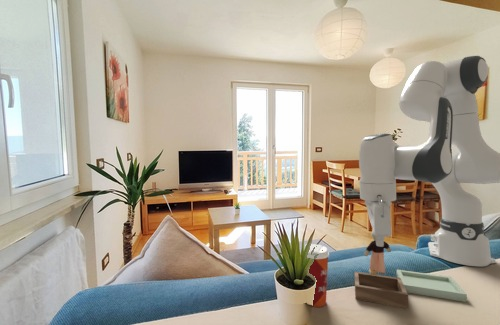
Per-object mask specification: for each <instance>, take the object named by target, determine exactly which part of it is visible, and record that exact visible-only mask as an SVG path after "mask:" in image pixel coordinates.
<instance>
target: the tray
mask: <svg viewBox="0 0 500 325" xmlns="http://www.w3.org/2000/svg"><path fill="white" fill-rule="evenodd" d="M396 278H401V280H402V282H403V285H404V287H405V289H406V291H407V293H408V294H413V295H414V294H415V295H420V296H421V295H422V296H427V297H431V298H432V297H434V298H440V299H445V300H450V301H451V300H452V301H457V302H464V303H467V301H468V299H467V297H468V296H467V293H466V292H465V291H464V289H462V288H461V286H460V285H459V284H458V283H457V282H456V281H455V279H453V277H452V276H449V275H448V276H447V275H439V274H433V273H432V274H431V273H425V272H417V271H411V270H410V271H409V270H403V269H396Z"/></svg>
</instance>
